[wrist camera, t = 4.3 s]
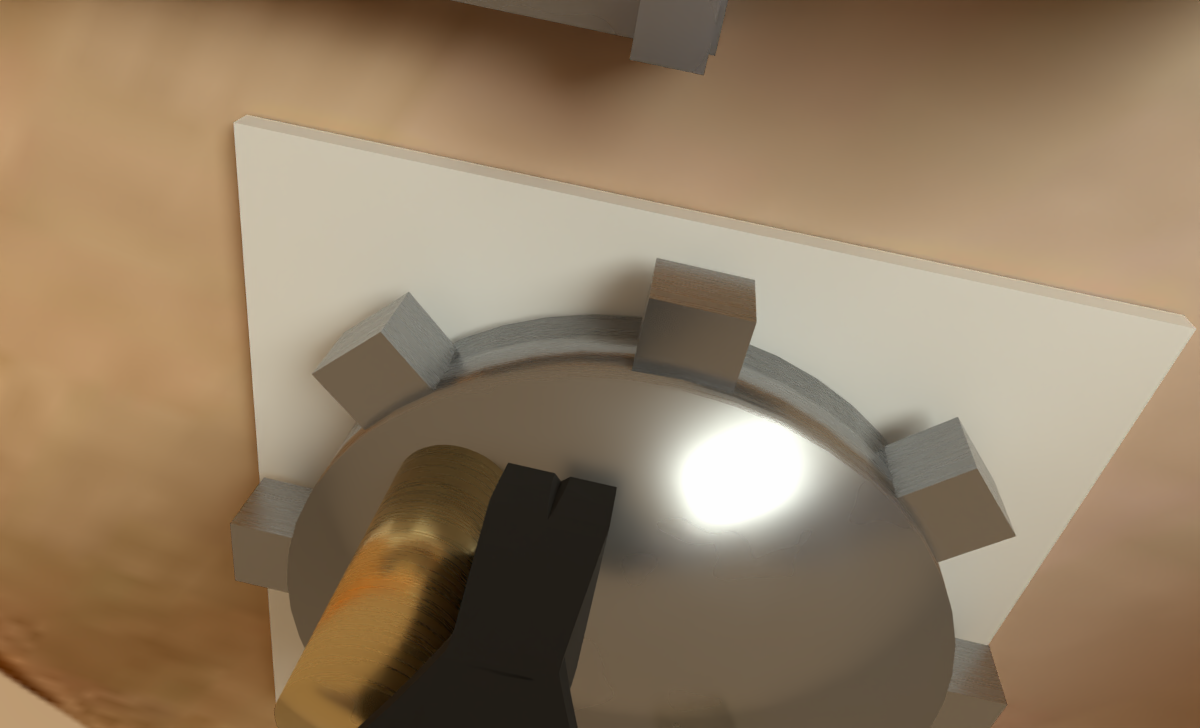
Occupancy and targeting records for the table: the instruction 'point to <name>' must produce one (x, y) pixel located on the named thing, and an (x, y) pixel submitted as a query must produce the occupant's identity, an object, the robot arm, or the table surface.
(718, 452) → the sprocket
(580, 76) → the table surface
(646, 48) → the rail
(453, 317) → the board
